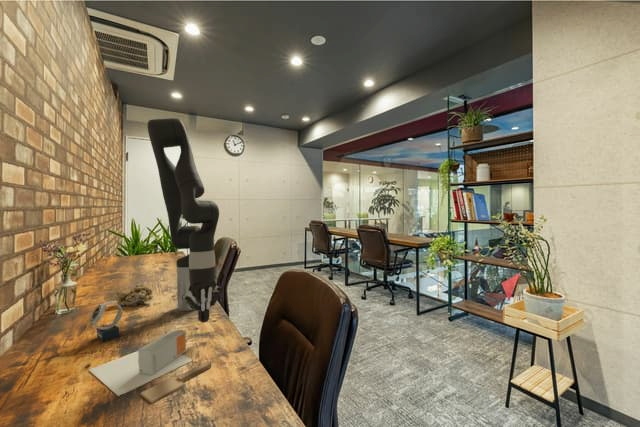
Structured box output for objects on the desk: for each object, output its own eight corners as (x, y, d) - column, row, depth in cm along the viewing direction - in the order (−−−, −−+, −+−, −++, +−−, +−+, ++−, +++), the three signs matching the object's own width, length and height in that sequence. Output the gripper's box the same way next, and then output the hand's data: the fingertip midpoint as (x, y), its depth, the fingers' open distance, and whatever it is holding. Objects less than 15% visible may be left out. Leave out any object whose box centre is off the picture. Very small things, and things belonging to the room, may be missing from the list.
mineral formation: (145, 296, 133) (162, 299, 125) (113, 310, 122) (129, 314, 114) (141, 280, 132) (158, 282, 124) (108, 292, 121) (124, 295, 113)
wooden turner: (203, 362, 74) (203, 359, 74) (215, 368, 71) (215, 364, 71) (141, 395, 62) (140, 390, 62) (152, 404, 59) (151, 399, 59)
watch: (89, 340, 89) (87, 305, 89) (119, 331, 95) (118, 298, 95) (94, 345, 86) (93, 308, 85) (125, 335, 92) (124, 301, 92)
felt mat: (158, 343, 86) (158, 342, 86) (192, 360, 76) (192, 360, 76) (88, 370, 72) (88, 369, 72) (118, 396, 62) (118, 395, 62)
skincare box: (187, 351, 80) (152, 376, 69) (174, 349, 82) (138, 373, 70) (186, 329, 80) (151, 351, 69) (173, 328, 81) (137, 349, 70)
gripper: (214, 261, 96) (215, 313, 96) (174, 267, 85) (176, 326, 85) (228, 263, 91) (229, 317, 91) (188, 270, 80) (189, 332, 81)
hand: (203, 321), depth 88 cm, fingers closed
